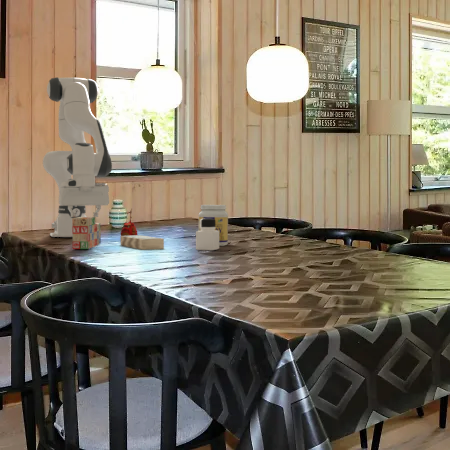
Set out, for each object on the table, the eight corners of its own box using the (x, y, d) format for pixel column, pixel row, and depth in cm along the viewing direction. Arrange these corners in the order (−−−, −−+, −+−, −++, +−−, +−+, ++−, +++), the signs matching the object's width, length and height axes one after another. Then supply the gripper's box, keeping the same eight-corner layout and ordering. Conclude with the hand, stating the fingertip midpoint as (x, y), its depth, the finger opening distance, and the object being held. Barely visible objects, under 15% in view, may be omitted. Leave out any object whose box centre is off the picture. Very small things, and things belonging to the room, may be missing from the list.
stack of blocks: (86, 244, 276) (86, 215, 276) (101, 244, 276) (100, 215, 275) (72, 249, 255) (72, 217, 254) (88, 249, 255) (87, 217, 254)
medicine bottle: (219, 249, 254) (219, 218, 253) (213, 250, 247) (213, 218, 246) (202, 248, 256) (202, 217, 255) (195, 249, 249) (195, 218, 249)
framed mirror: (120, 245, 270) (120, 235, 270) (140, 244, 275) (140, 235, 274) (142, 249, 250) (142, 239, 250) (163, 248, 255) (163, 238, 255)
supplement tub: (201, 247, 261) (201, 205, 261) (196, 245, 273) (196, 204, 273) (230, 246, 264) (230, 205, 263) (224, 244, 276) (224, 204, 275)
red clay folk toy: (117, 243, 282) (117, 208, 282) (125, 242, 289) (125, 208, 288) (132, 243, 280) (132, 208, 279) (141, 242, 286) (140, 208, 285)
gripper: (106, 183, 271) (106, 216, 272) (57, 182, 261) (57, 217, 262) (111, 182, 266) (111, 216, 266) (61, 182, 256) (62, 217, 256)
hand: (84, 216), depth 264 cm, fingers open, 8 cm apart
